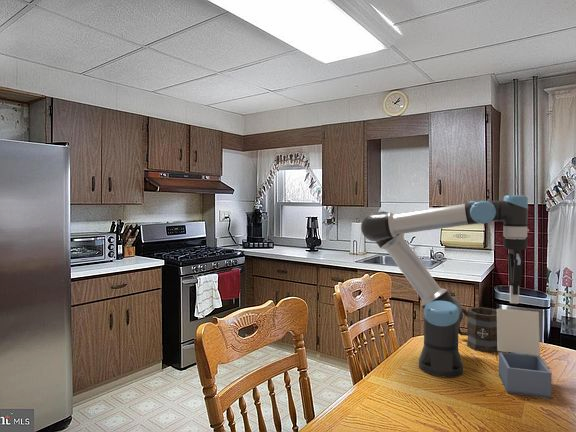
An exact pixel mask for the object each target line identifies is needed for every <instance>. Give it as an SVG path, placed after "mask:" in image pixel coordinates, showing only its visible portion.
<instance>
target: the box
mask: <svg viewBox="0 0 576 432" xmlns="http://www.w3.org/2000/svg"><path fill="white" fill-rule="evenodd" d="M539 356H540V355H539ZM539 356H532V355H523V354H513V353H508V352H504V351H501V352H498V373H497V374H498V377H499V379H500V380H501V383H502V386H503V388H504V389H505V391H506V394H511V395H512V394H513V395H519V396H520V395H521V396H527V397H534V398H541V399H548V400H549V399H550V400H552V383H553V382H552V378H553V377H552V376H553V375H552V372H551V371H550V369H549V367H548V366H546V364H545V363H543V362H542V360H541V359H540V358H539Z"/></svg>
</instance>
